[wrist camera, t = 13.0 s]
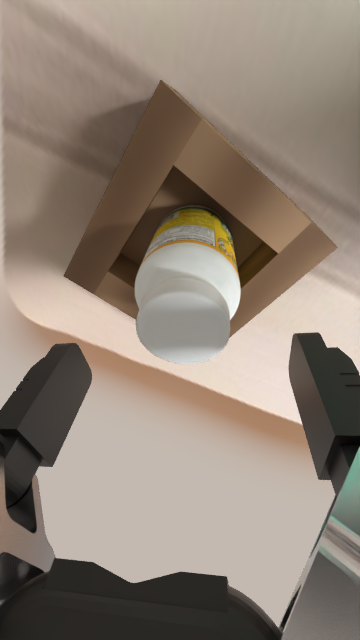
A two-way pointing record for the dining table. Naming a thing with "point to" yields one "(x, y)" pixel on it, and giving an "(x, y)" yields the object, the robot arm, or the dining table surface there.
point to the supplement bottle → (187, 287)
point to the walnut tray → (194, 189)
